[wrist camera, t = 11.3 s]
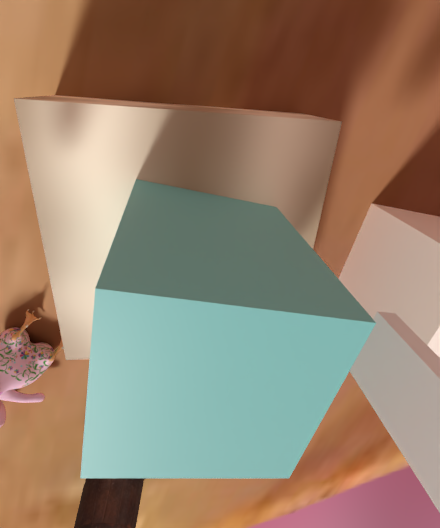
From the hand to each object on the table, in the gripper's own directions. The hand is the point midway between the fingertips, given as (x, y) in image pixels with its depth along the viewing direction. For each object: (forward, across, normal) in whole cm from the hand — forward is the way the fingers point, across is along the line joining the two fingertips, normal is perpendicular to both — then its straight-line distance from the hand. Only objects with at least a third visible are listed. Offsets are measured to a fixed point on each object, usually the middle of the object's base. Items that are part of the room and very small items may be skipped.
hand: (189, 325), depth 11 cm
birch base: (+10, 0, 0) cm, 10 cm away
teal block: (+5, 0, 0) cm, 5 cm away
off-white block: (+9, +14, 0) cm, 17 cm away
